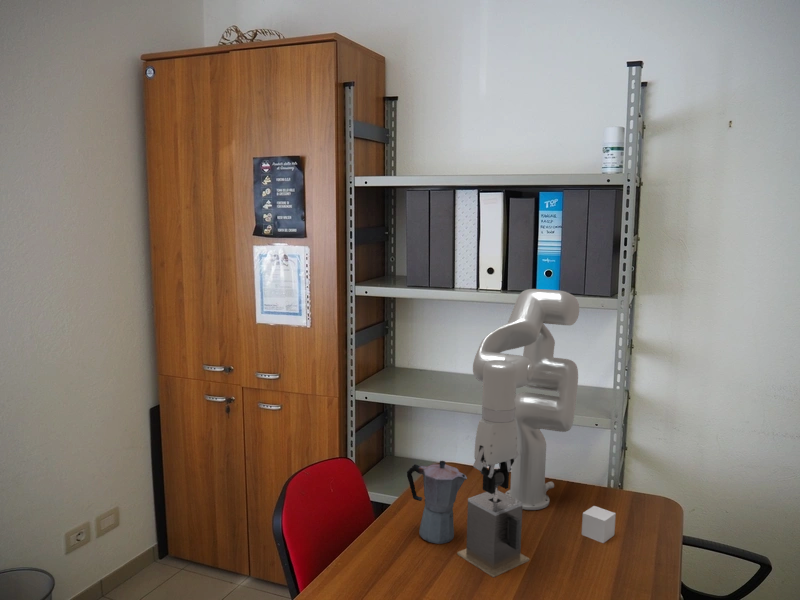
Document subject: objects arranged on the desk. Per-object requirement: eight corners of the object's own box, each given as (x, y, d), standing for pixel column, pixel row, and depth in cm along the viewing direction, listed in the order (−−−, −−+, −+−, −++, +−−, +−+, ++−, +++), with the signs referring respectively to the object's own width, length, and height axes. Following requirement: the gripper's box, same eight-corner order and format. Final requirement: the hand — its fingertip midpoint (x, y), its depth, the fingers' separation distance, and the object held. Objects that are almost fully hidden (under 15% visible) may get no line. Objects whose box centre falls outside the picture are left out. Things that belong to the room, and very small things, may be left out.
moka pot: (463, 548, 153) (465, 470, 150) (401, 541, 156) (402, 464, 153) (467, 530, 162) (469, 456, 160) (408, 523, 165) (410, 450, 163)
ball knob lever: (493, 527, 153) (495, 462, 151) (513, 538, 148) (515, 470, 146) (474, 535, 149) (476, 468, 147) (494, 546, 144) (496, 477, 142)
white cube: (614, 535, 161) (615, 513, 160) (603, 543, 157) (604, 521, 156) (592, 527, 165) (594, 505, 164) (581, 535, 161) (582, 512, 160)
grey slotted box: (492, 539, 157) (494, 485, 156) (533, 563, 147) (536, 505, 145) (457, 554, 150) (459, 497, 148) (497, 580, 140) (500, 519, 138)
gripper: (511, 404, 153) (508, 475, 155) (460, 416, 143) (458, 492, 145) (534, 411, 147) (531, 486, 149) (483, 424, 137) (481, 504, 139)
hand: (495, 488), depth 147 cm, fingers closed on ball knob lever, 4 cm apart
